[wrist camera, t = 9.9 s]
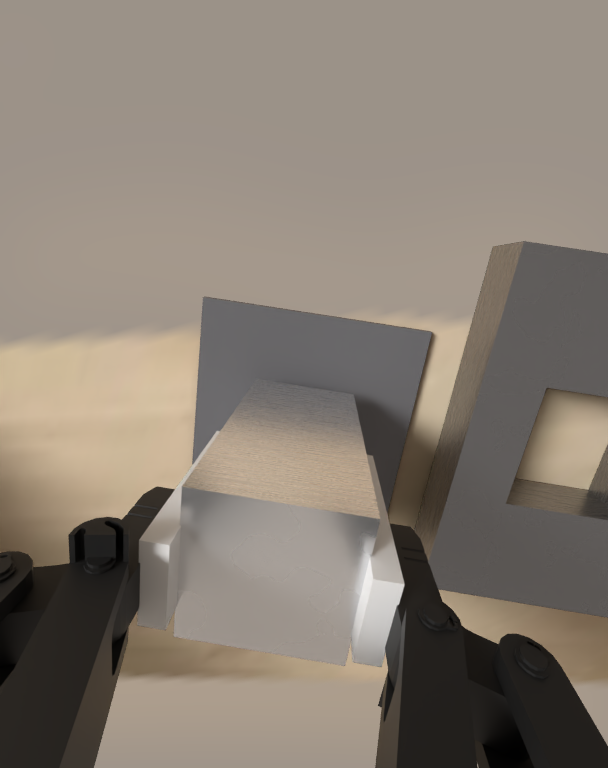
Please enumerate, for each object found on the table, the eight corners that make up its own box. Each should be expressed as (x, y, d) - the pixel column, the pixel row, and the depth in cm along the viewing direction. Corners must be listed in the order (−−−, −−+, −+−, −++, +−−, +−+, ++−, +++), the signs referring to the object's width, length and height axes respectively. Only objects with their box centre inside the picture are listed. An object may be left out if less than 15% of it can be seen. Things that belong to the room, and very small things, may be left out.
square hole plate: (409, 547, 23) (420, 586, 20) (492, 246, 18) (524, 241, 15) (600, 579, 23) (639, 622, 20) (740, 283, 18) (819, 285, 15)
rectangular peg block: (246, 465, 20) (173, 636, 11) (256, 378, 19) (181, 486, 9) (336, 480, 20) (344, 665, 11) (353, 394, 19) (380, 519, 9)
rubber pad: (192, 491, 23) (190, 495, 23) (205, 296, 20) (203, 297, 19) (382, 522, 23) (383, 527, 22) (430, 331, 19) (431, 332, 19)
